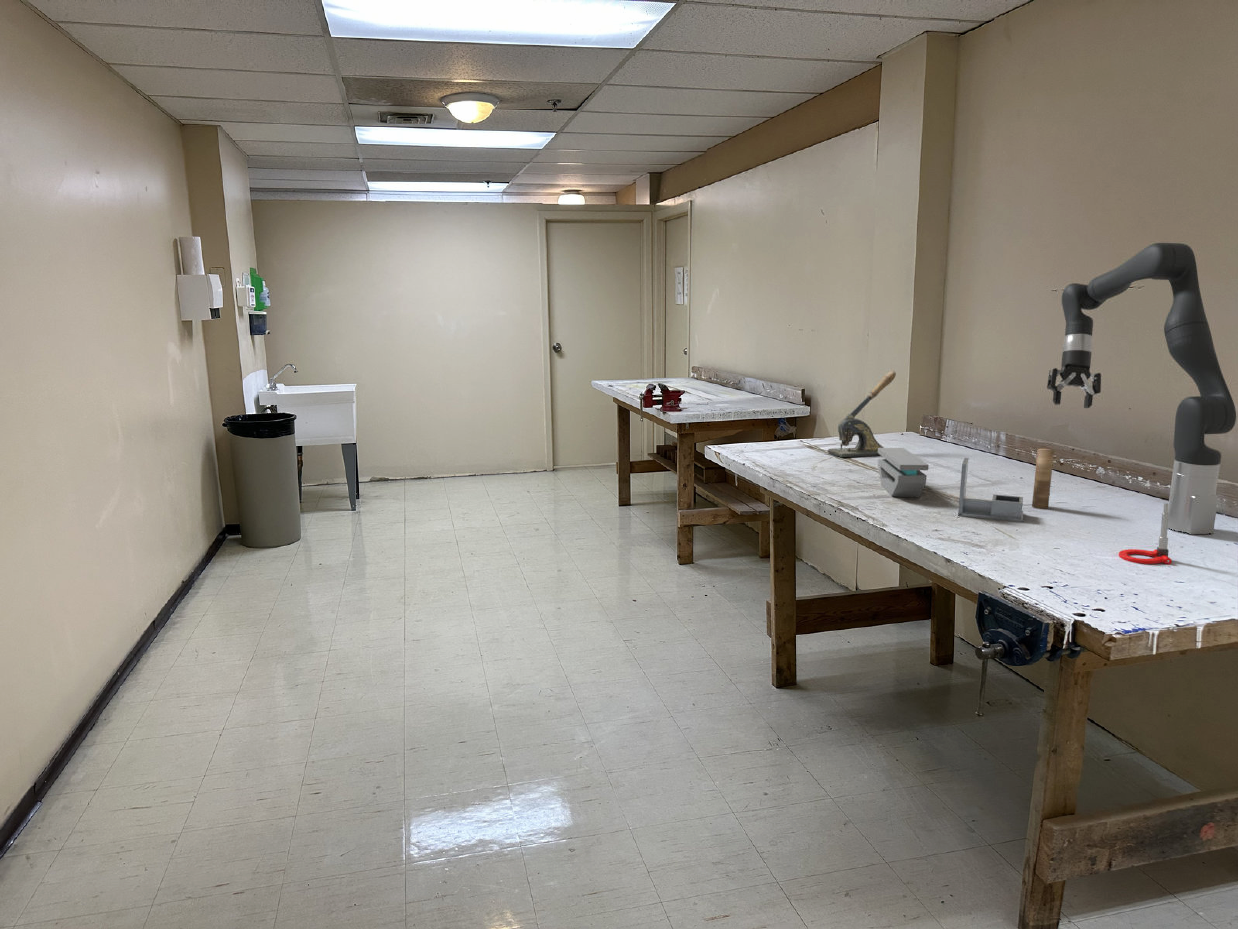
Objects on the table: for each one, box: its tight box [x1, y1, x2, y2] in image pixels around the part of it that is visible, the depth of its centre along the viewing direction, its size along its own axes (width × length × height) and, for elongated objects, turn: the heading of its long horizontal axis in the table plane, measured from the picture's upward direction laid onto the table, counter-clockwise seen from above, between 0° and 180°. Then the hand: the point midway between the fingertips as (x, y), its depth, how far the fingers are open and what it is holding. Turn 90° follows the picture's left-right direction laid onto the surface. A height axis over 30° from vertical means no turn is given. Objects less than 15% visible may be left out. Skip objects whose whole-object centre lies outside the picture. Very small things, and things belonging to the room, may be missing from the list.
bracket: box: [957, 457, 1024, 523], centre depth 218 cm, size 9×16×14 cm, turn 64°
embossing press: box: [826, 370, 897, 458], centre depth 298 cm, size 11×24×30 cm, turn 103°
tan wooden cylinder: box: [1031, 448, 1055, 510], centre depth 225 cm, size 4×4×16 cm
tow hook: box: [1118, 502, 1173, 565], centre depth 183 cm, size 8×13×9 cm
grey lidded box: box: [877, 447, 929, 497], centre depth 244 cm, size 25×8×11 cm, turn 177°
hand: (1072, 406), depth 241 cm, fingers open, 8 cm apart
